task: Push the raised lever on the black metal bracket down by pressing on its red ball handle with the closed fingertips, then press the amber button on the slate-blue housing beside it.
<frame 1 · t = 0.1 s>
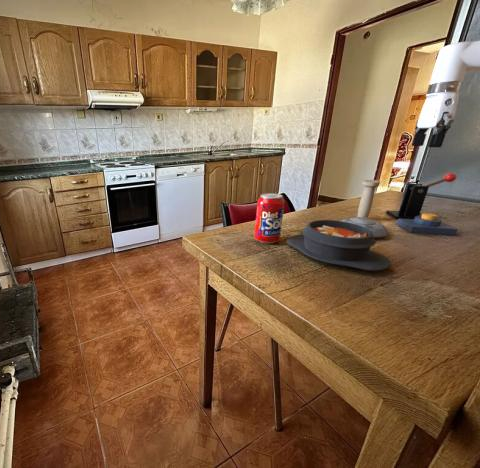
hand: (425, 146, 88), 27 cm above the table, tool pointing down, fingers open, 9 cm apart
lever: (433, 183, 96), point 13 cm above the table, hinge at 28.0°
button: (428, 217, 87), point 4 cm above the table, slide at 0.1 cm
flying saucer: (359, 233, 88), on the table
button box: (424, 229, 89), on the table
handle: (361, 220, 101), on the table
bracket: (407, 217, 102), on the table
casserole: (331, 256, 72), on the table
soda can: (266, 240, 84), on the table
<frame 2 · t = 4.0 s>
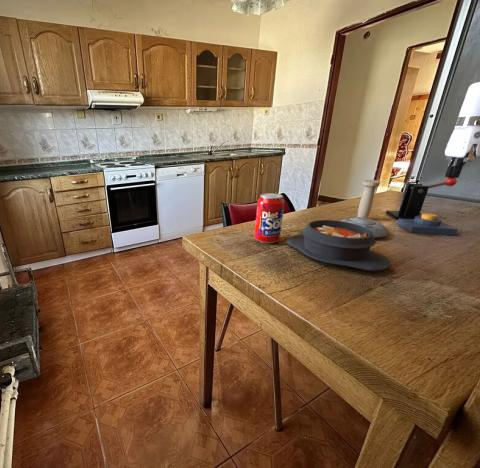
hand: (451, 177, 94), 16 cm above the table, tool pointing down, fingers closed
lever: (433, 185, 96), point 13 cm above the table, hinge at 18.8°, touching gripper
everything else where it was.
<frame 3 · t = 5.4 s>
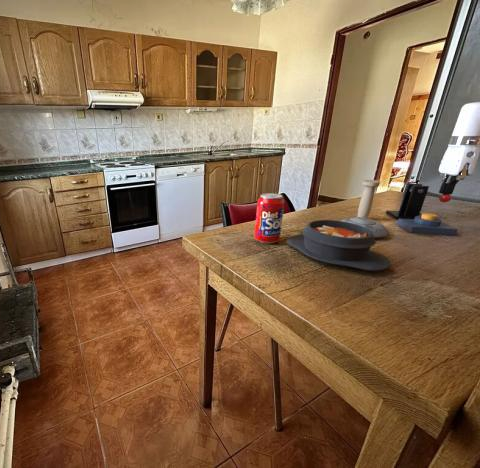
hand: (445, 193, 96), 10 cm above the table, tool pointing down, fingers closed
lever: (430, 193, 97), point 10 cm above the table, hinge at -16.7°, touching gripper
everything else where it was.
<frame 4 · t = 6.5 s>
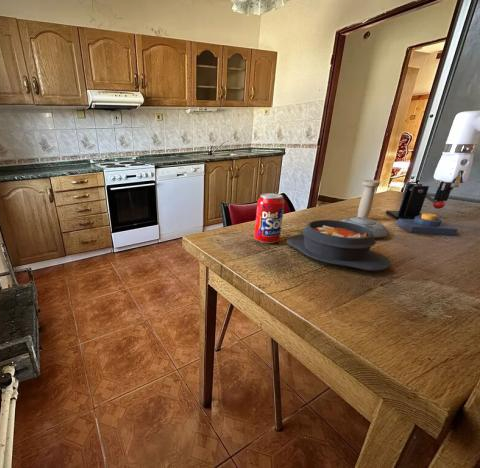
hand: (440, 200, 97), 7 cm above the table, tool pointing down, fingers closed
lever: (427, 197, 98), point 8 cm above the table, hinge at -32.8°, touching gripper
everything else where it was.
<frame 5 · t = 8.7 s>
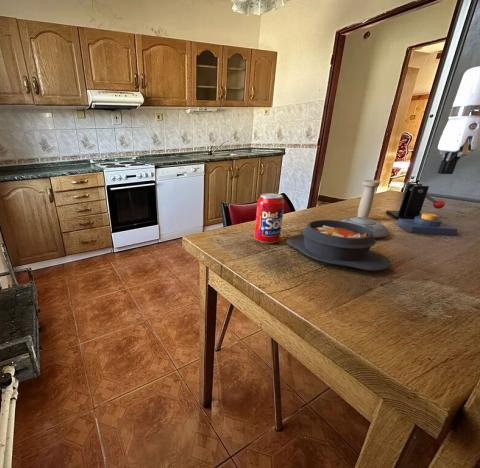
hand: (444, 173, 85), 19 cm above the table, tool pointing down, fingers closed
lever: (427, 197, 98), point 8 cm above the table, hinge at -32.8°
everything else where it was.
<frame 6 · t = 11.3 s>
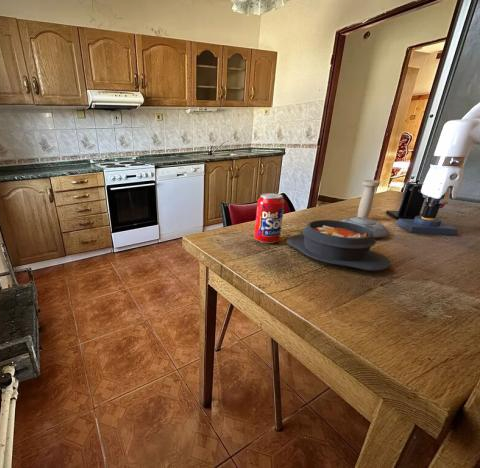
hand: (428, 217, 87), 4 cm above the table, tool pointing down, fingers closed
button: (427, 219, 88), point 3 cm above the table, slide at -0.9 cm, touching gripper
everything else where it was.
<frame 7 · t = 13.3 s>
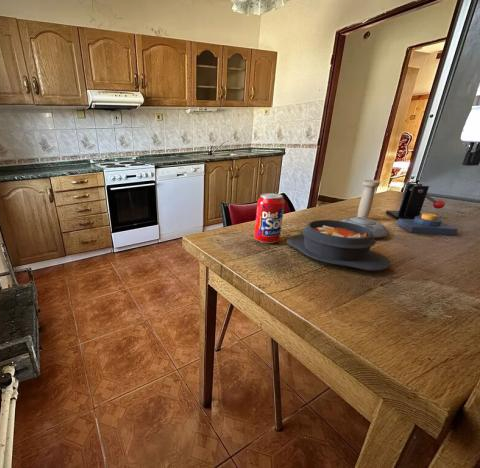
hand: (470, 165, 82), 21 cm above the table, tool pointing down, fingers closed
button: (428, 217, 87), point 4 cm above the table, slide at 0.1 cm
everything else where it was.
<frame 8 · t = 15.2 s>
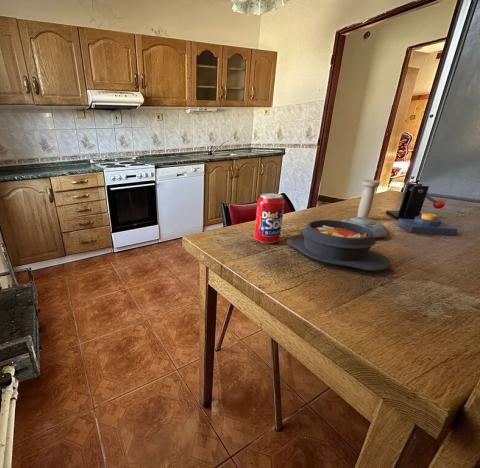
nothing on the table moved.
at the end: lever at -33° (first picture: +28°); button pushed in 1.1 cm at the most during the clip, back to where it started at the end; button slide at 0.1 cm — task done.
